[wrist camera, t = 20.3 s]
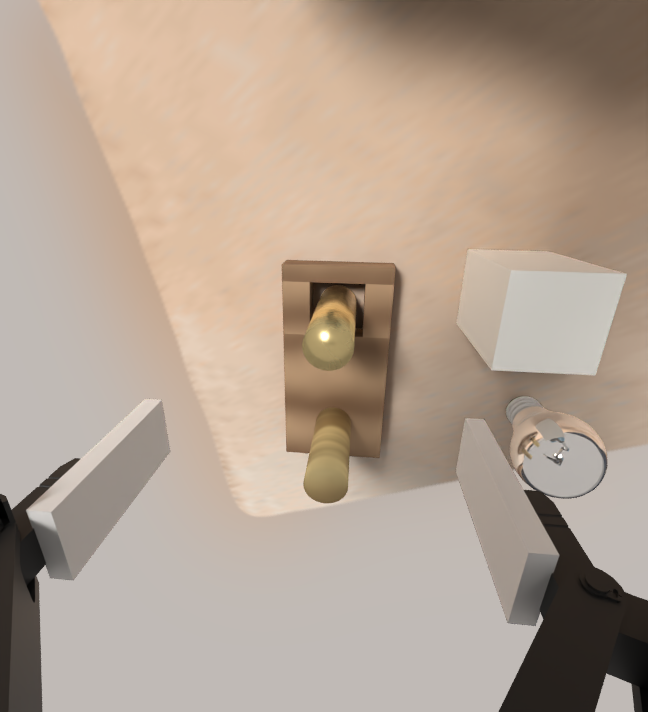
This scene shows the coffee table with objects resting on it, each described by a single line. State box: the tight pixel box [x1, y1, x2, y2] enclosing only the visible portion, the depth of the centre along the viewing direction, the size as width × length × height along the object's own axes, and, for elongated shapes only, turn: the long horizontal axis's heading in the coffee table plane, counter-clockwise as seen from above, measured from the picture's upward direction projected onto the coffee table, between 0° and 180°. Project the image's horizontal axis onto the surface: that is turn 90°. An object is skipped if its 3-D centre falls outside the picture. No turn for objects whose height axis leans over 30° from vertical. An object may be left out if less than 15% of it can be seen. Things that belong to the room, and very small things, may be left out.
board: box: [282, 260, 396, 503], centre depth 35 cm, size 20×10×12 cm, turn 179°
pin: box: [302, 285, 356, 371], centre depth 32 cm, size 4×4×12 cm
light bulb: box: [506, 396, 607, 498], centre depth 35 cm, size 7×7×12 cm
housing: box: [456, 249, 627, 375], centre depth 31 cm, size 7×7×11 cm
